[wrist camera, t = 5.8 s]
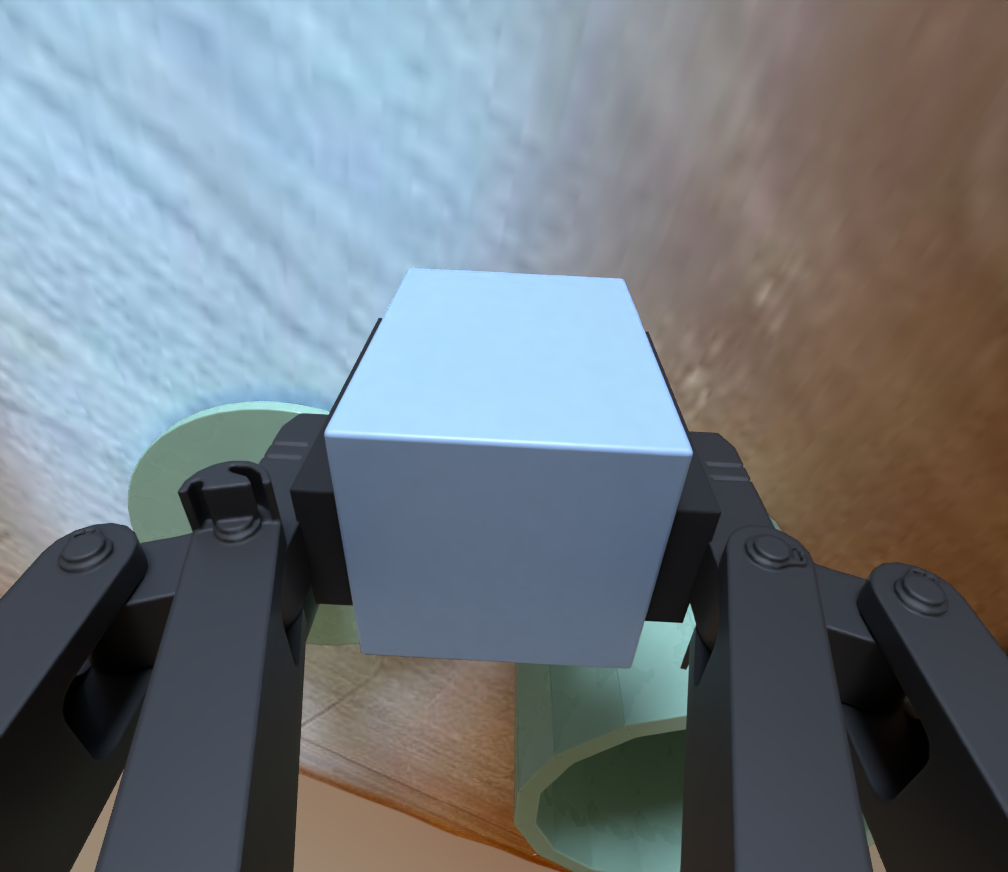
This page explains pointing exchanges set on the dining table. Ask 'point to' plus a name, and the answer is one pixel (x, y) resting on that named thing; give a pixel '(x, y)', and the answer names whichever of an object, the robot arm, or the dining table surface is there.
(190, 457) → the lid
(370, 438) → the block
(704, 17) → the dining table surface
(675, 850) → the pot
